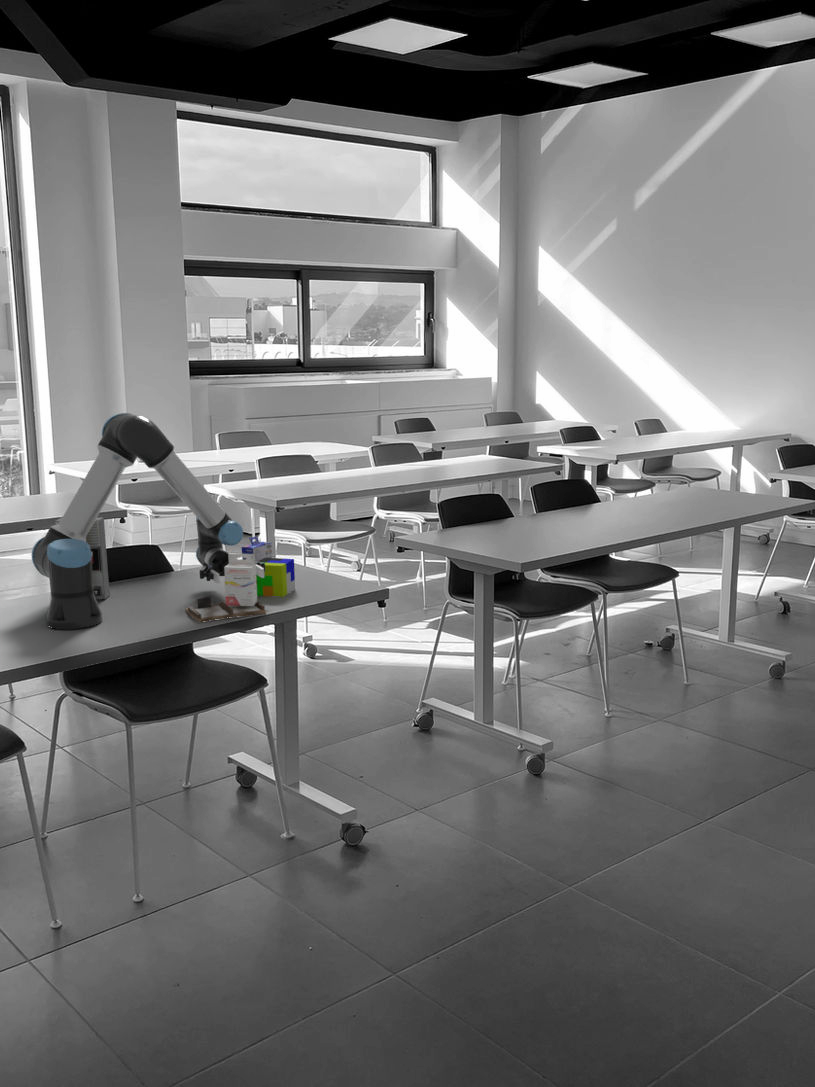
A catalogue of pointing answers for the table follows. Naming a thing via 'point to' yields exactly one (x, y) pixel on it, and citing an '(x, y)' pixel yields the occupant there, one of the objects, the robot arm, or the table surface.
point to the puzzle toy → (276, 577)
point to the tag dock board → (221, 610)
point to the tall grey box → (98, 558)
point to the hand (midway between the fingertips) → (240, 576)
